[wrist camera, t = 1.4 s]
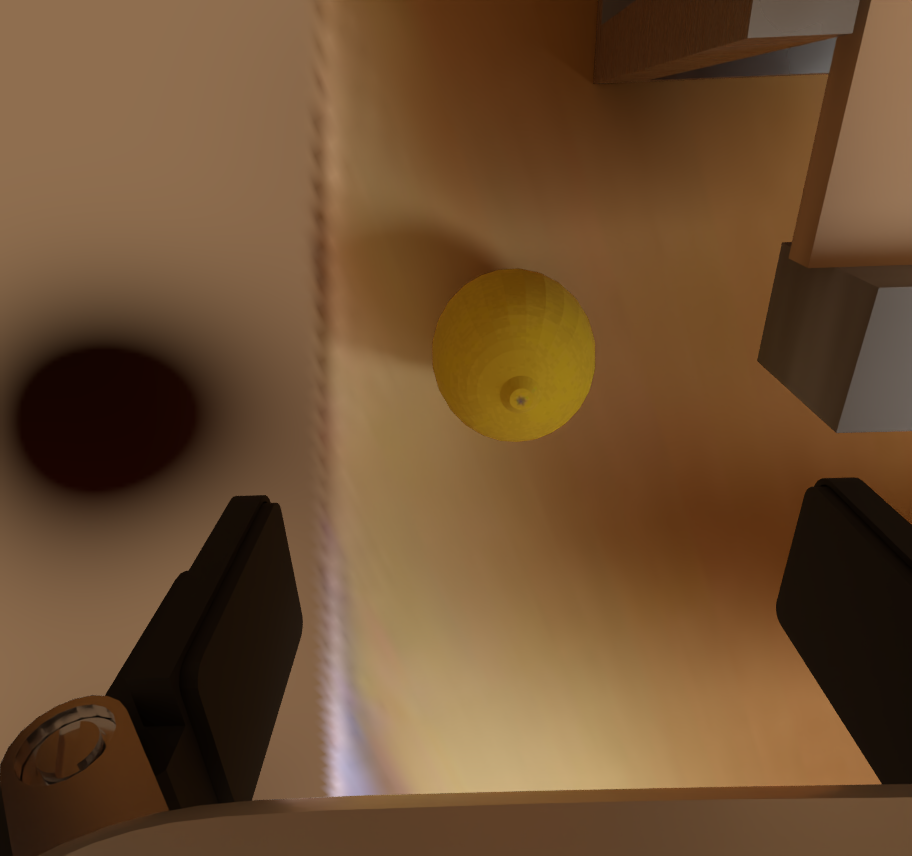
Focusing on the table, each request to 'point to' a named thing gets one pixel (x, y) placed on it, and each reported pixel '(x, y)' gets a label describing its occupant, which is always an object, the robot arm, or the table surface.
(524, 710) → the table surface
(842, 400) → the trapdoor
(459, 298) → the lemon
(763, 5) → the frame
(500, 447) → the table surface
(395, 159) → the table surface
